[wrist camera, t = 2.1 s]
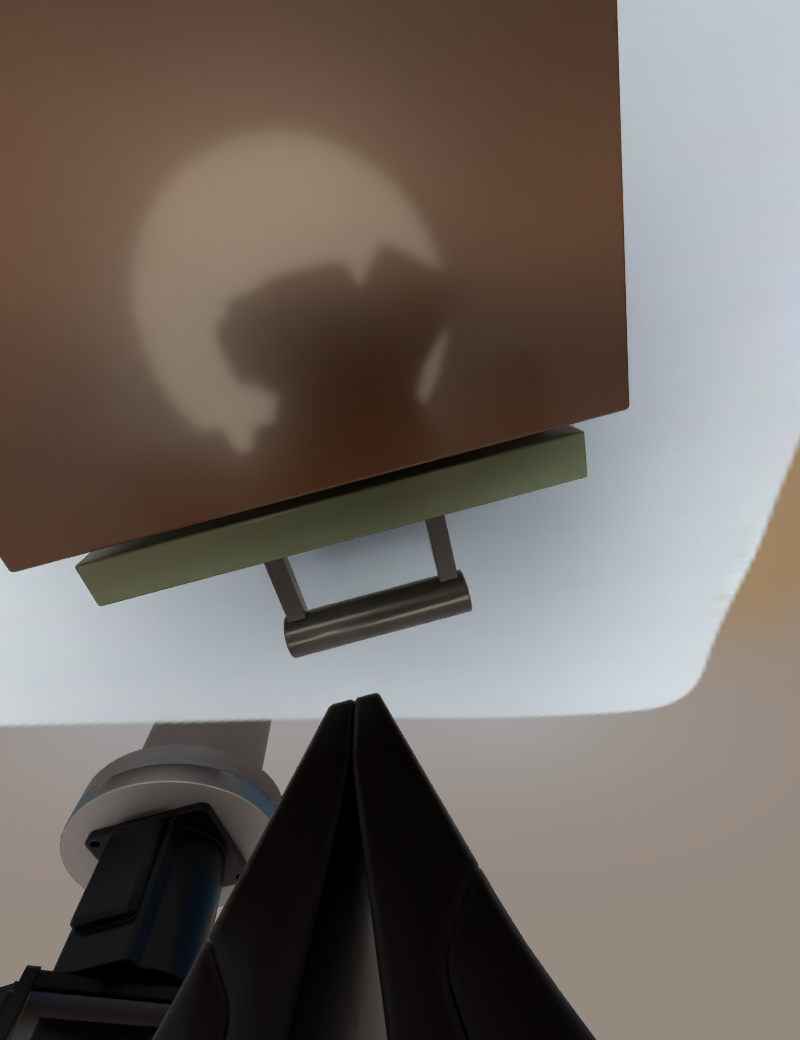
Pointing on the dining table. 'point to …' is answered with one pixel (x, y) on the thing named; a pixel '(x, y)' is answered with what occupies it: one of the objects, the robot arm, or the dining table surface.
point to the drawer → (345, 539)
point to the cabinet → (294, 249)
